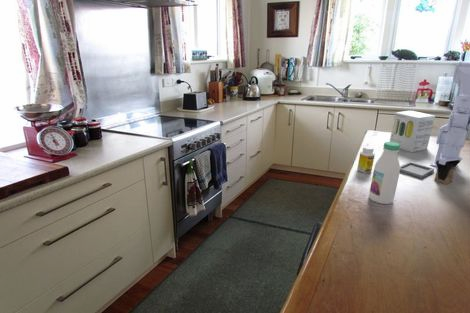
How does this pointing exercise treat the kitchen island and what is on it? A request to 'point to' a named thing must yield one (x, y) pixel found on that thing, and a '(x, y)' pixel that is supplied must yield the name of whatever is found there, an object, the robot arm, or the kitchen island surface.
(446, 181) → the walnut block
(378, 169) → the milk bottle
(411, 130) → the supplement box
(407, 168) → the grey tray
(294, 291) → the kitchen island surface
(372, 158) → the supplement bottle
